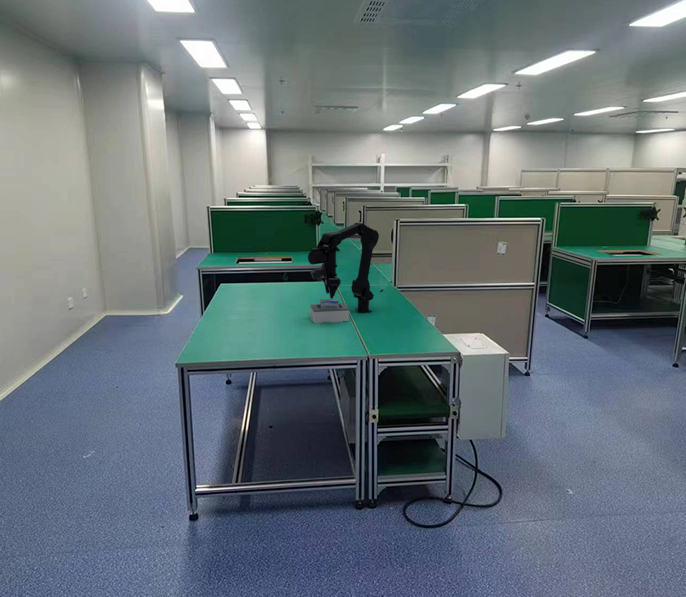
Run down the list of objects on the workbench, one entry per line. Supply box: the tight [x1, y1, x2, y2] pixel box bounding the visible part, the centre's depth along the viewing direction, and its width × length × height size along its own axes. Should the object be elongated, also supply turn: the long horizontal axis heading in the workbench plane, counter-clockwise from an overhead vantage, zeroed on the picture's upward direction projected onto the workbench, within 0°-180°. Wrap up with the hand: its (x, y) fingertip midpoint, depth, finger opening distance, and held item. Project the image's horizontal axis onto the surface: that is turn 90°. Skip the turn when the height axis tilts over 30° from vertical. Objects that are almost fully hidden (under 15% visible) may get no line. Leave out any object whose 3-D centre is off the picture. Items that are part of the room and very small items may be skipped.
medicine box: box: [319, 298, 340, 309], centre depth 218 cm, size 8×4×9 cm, turn 102°
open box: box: [309, 302, 350, 324], centre depth 219 cm, size 10×16×6 cm, turn 103°
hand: (329, 295), depth 217 cm, fingers open, 9 cm apart
